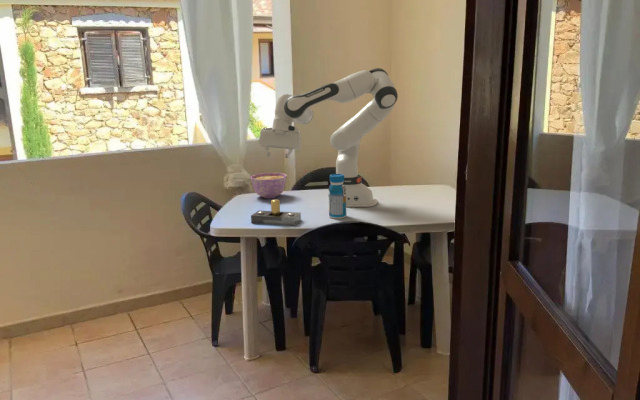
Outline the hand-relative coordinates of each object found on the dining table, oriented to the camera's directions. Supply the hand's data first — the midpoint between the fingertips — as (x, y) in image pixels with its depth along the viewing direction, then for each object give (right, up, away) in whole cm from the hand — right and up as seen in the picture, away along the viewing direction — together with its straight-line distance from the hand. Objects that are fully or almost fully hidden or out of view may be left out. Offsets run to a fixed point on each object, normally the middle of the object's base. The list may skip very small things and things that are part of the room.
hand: (277, 157), depth 244 cm
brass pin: (0, -30, -4) cm, 30 cm away
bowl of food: (-8, -18, +45) cm, 50 cm away
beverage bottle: (+28, -28, +1) cm, 40 cm away
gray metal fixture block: (0, -30, -4) cm, 30 cm away
